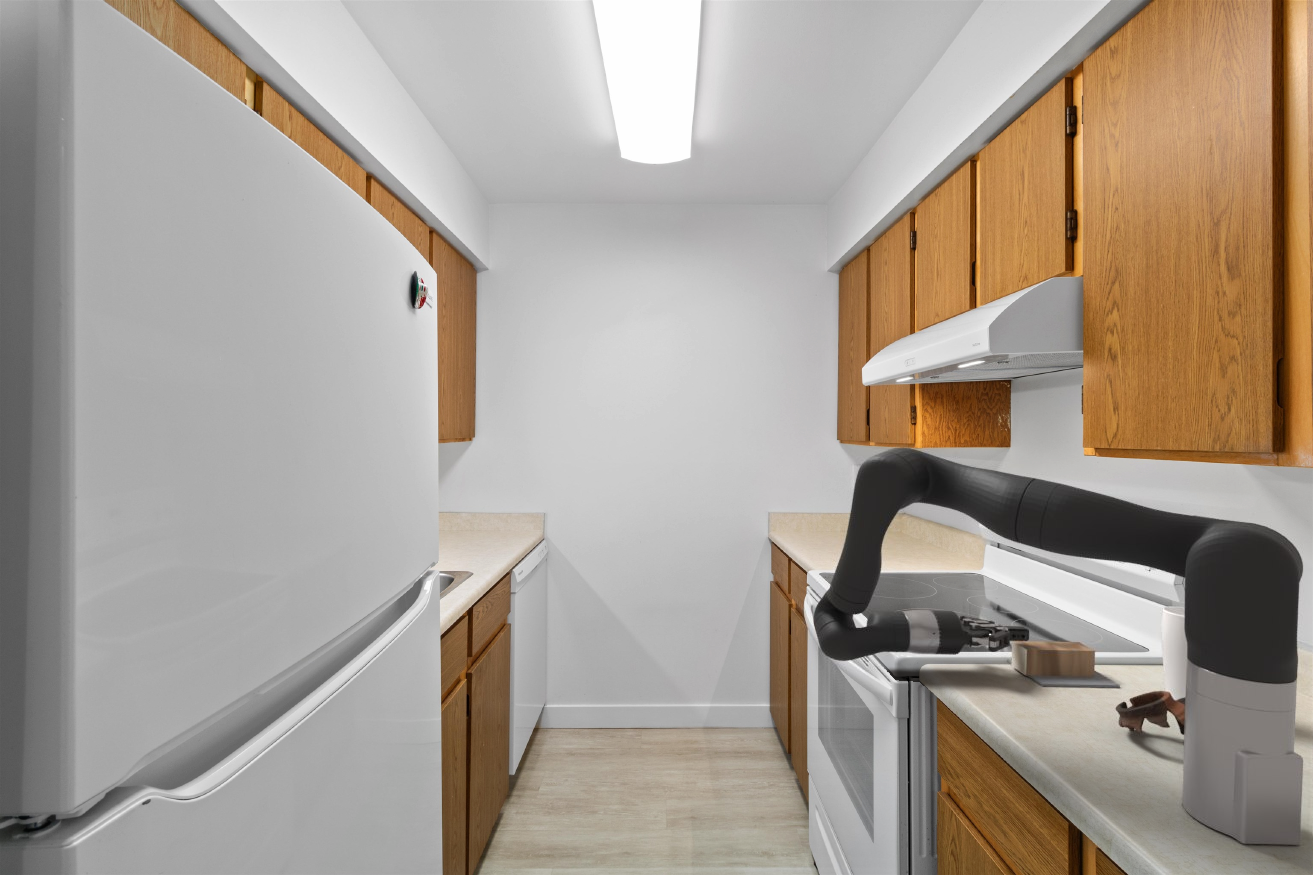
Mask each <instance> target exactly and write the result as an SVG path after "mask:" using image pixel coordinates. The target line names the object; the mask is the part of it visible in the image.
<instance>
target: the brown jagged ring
mask: <svg viewBox="0 0 1313 875" xmlns="http://www.w3.org/2000/svg"><path fill="white" fill-rule="evenodd" d="M1129 702H1130V703H1131V705H1130V706H1129V707H1128V704H1127V702H1126V701H1122V702H1120V703H1119V704H1117V705H1116V706H1115V711H1116V712H1117V713H1118V715H1119V717H1118V726H1119V727H1121V728H1127V729H1128V730H1129V731H1131V732H1134V730H1136V731H1137V732H1138V733H1140V734H1142V733H1143V731H1142V730H1143V725H1144V721H1145V719H1146V720H1147V721H1148V722H1149V723H1150V724H1152V725H1153V724H1154V725H1156V726H1158V727H1160V728H1164V729H1166V728H1167V729H1169V728H1170V727H1171V726H1170V724H1169V722H1168V712H1169V713H1170V714H1172V715H1173V716H1174V718H1175V720H1176V722H1177V725H1178V729H1179V731H1180V734H1181V735H1183V736H1184V727H1185V698H1180V699H1178V700H1174V699H1173V697H1172V696H1171V693H1169V692H1167V691H1165V690H1158V691H1157V690H1156V691H1155V690H1154V691H1150V692H1149V691H1148V692H1146V693H1142V694H1138V695H1136V696H1133V697H1131V698H1129Z"/></svg>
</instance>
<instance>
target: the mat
mask: <svg viewBox="0 0 1313 875" xmlns="http://www.w3.org/2000/svg"><path fill="white" fill-rule="evenodd" d="M1006 662H1008V663H1009V664H1010V665H1011V662H1012V660H1009V659H1007V661H1006ZM1026 676H1027V677H1028V678H1029V679H1031V680H1033V681H1034V682H1035V683H1037V684H1038V685H1040V686H1041V687H1056V688H1057V687H1062V688H1114V689H1115V688H1118V689H1119V688H1121V685H1120V684H1118V683H1117V682H1115V681H1114V680H1112V679H1110V678H1109V677H1107V676H1105V675H1103V674H1102V673H1100V672H1098V671H1097V670H1095V671H1094V676H1040V675H1026Z"/></svg>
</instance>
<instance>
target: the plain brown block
mask: <svg viewBox="0 0 1313 875" xmlns="http://www.w3.org/2000/svg"><path fill="white" fill-rule="evenodd" d="M1011 658H1012V662H1011V664H1010V665H1011V667H1013V668H1014V669H1016V670H1017V671H1018V672H1020V674H1023V675H1024V676H1027V675H1040V676H1094V671H1096V670H1095V666H1096V650H1094V649H1092V648H1091V647H1088V645H1085V644H1083V643H1081V642H1079V641H1034V640H1033V641H1032V640H1028V641H1011Z"/></svg>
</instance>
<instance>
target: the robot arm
mask: <svg viewBox="0 0 1313 875" xmlns="http://www.w3.org/2000/svg"><path fill="white" fill-rule="evenodd" d="M851 501H852V502H851V506H850V513H849V520H848V524H847V525H848V526H847V529H846V530H847V531H846V535H845V540H844V543H843V547H842V550H841V553H840V554H841V555H840V556H839V560H838V563H837V566H836V567H835V571H834V574H833V576H832V579H831V582H830V585H829V588H828V589H827V591H826V592H825V593H824V594H823V595H822V597H821V598H820V599H819V600H818V603H817V604H816V606H815V608H814V613H813V620H812V621H813V627H814V630H815V634H816V636H817V640H818V645H819V647H820V650H821V652H822V653H823V654H824V655H825V656H826V657H828V658H829V659H832V660H835V661H838V662H846V661H847V662H848V661H849V662H850V661H853V660H856V659H860V658H864V657H869V656H872V655H876V654H880V653H910V654H916V655H958V654H960V652H961V651H962V650H963V647H964V646H965V645H967V646H969V647H971V648H980V647H988V649H987V650H988V651H989V652H991V653H997V652H999V651H1001V650H1004V649H1005V648H1007V647H1010V642H1012V641H1030V630H1029V628H1026V627H1024V626H1022V625H1004V624H1001V623H996V622H995V621H993V620H987V619H983V618H982V619H980V618H976V617H971V616H965V615H958V614H957V613H956V612H954V611H953V610H938V609H937V610H935V609H934V610H932V609H931V610H927V609H925V610H924V609H922V610H921V609H918V610H917V609H916V610H915V609H912V610H903V611H901V610H899V611H896V610H895V611H894V610H893V611H891V610H887V611H886V610H880V611H879V610H878V611H876V610H875V611H874V612H871V613H870V614H869V615H868V617H867V620H866V626H862V627H856V624H855V621H854V620H855V619H854V616H855V615H860V614H863V613H864V612H865V611H866V609H867V608H868V606H869V605H870V603H871V600H872V598H873V596H874V593H875V590H876V588H877V586H878V582H879V580H880V578H881V577H880V576H881V571H882V566H883V565H882V563H883V562H882V560H883V558H882V557H883V556H882V555H883V554H882V549H883V548H882V547H883V543H884V539H885V535H886V534H887V531H888V529H889V527H890V526H891V524H892V522H893V520H894V519H895V517H896V515H897V514H898V513H899V512H900V510H902V509H903V510H904V509H905V508H907V507H908V506H911V505H913V504H925V505H926V504H927V505H933V506H936V507H937V506H938V507H941V508H946V509H950V510H954V511H957V512H960V513H962V514H964V515H966V516H968V517H970V518H972V519H973V520H974V521H976V522H977V523H979V524H981V526H983V527H985V528H986V529H988V530H989V531H991V532H993V533H994V534H996V535H998V536H999V537H1001V538H1004V539H1007V540H1009V541H1012V542H1014V543H1017V544H1021V545H1023V546H1024V545H1025V546H1027V547H1032V548H1035V549H1038V550H1042V551H1045V552H1050V553H1053V554H1059V555H1063V556H1070V557H1077V558H1083V559H1090V560H1091V559H1092V560H1100V561H1111V562H1120V563H1128V564H1134V565H1139V566H1144V567H1148V568H1151V569H1156V570H1159V571H1162V572H1166V573H1169V574H1172V575H1174V576H1179V577H1181V578H1184V607H1185V620H1184V630H1185V636H1186V640H1187V672H1186V697H1185V727H1184V735H1183V762H1182V764H1183V766H1182V768H1183V769H1182V797H1181V798H1182V799H1181V801H1182V802H1181V803H1182V806H1183V809H1184V810H1185V811H1186V812H1187V813H1188V814H1189V815H1190V816H1191V817H1193V818H1194V819H1195V820H1197V821H1199V823H1201V824H1203V825H1205V826H1207V827H1209V828H1211V829H1213V830H1215V831H1217V832H1220V833H1222V834H1225V835H1227V836H1230V837H1232V838H1234V839H1235V840H1237V841H1238V842H1240V843H1241V844H1245V845H1247V844H1249V845H1252V844H1253V845H1258V844H1259V845H1289V846H1290V845H1291V846H1292V845H1294V846H1297V845H1298V846H1299V845H1301V828H1302V802H1303V799H1302V798H1303V777H1304V774H1303V773H1304V758H1303V757H1302V755H1301V754H1299V753H1296V752H1295V738H1296V737H1295V735H1296V711H1297V710H1296V709H1297V692H1298V691H1297V688H1298V687H1297V683H1298V668H1299V654H1298V629H1299V628H1298V626H1299V623H1298V621H1299V601H1300V600H1299V598H1300V583H1301V579H1302V577H1303V574H1304V563H1303V562H1304V561H1303V558H1302V556H1301V553H1300V552H1299V550H1298V549H1297V547H1296V546H1295V545H1294V543H1293V542H1291V541H1290V539H1288V538H1287V537H1286V536H1284V535H1283V534H1281V533H1280V532H1279V531H1277V530H1274V529H1273V528H1270V527H1269V526H1265V525H1261V524H1259V523H1254V522H1248V521H1239V520H1238V521H1236V520H1230V519H1222V518H1221V519H1220V518H1212V517H1205V516H1199V515H1198V516H1197V515H1191V514H1184V513H1178V512H1173V511H1172V512H1171V511H1165V510H1161V509H1158V508H1157V509H1156V508H1151V507H1148V506H1144V505H1140V504H1137V503H1135V502H1134V503H1133V502H1131V501H1127V500H1125V499H1120V498H1116V497H1114V496H1110V495H1107V494H1102V493H1099V492H1096V491H1092V490H1087V489H1084V488H1079V487H1077V486H1072V485H1067V484H1064V483H1060V482H1055V481H1050V480H1046V479H1041V478H1036V477H1030V476H1026V475H1024V476H1023V475H1018V474H1014V473H1010V472H1005V471H1004V472H1003V471H998V470H993V469H987V468H982V467H981V468H980V467H976V466H975V467H974V466H971V465H966V464H962V463H958V462H955V461H952V460H948V459H946V458H943V457H940V456H936V455H934V454H930V453H928V452H924V451H921V450H917V449H914V448H911V447H904V446H903V447H894V448H893V447H892V448H890V449H888V450H885V451H882V452H879V453H876V454H874V455H872V456H869V458H867V459H866V460H865V461H864V462H862V464H861V465H860V467H859V469H858V471H857V474H856V478H855V483H854V487H853V493H852V500H851Z"/></svg>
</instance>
